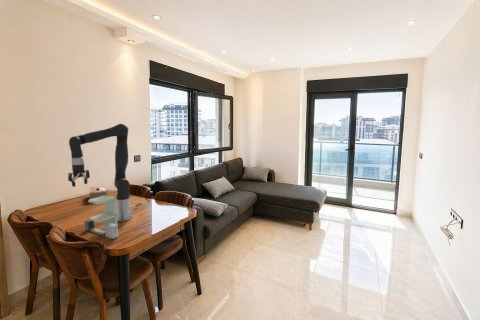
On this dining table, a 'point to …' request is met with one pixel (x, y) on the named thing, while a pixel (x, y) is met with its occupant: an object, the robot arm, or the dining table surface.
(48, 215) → the dining table surface
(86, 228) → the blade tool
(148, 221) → the dining table surface
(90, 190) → the tissue box cover
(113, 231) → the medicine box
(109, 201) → the shelf unit
